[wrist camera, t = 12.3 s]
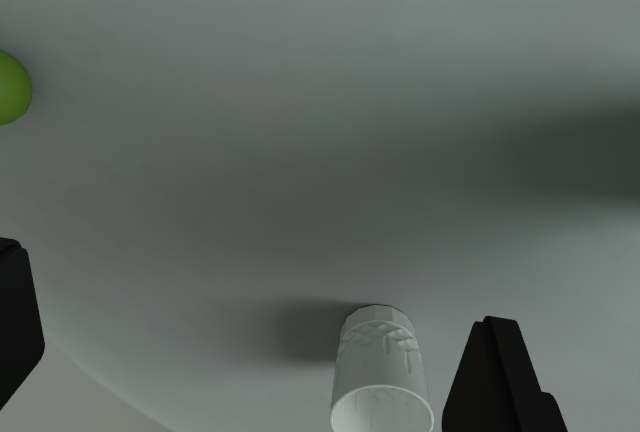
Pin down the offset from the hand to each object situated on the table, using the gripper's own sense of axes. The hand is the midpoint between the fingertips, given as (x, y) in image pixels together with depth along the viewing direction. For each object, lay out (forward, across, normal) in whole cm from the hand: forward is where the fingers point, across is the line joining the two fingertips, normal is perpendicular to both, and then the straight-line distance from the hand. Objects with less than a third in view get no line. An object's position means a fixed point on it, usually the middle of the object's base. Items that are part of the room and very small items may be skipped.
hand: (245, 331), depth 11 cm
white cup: (+29, -7, +25) cm, 39 cm away
